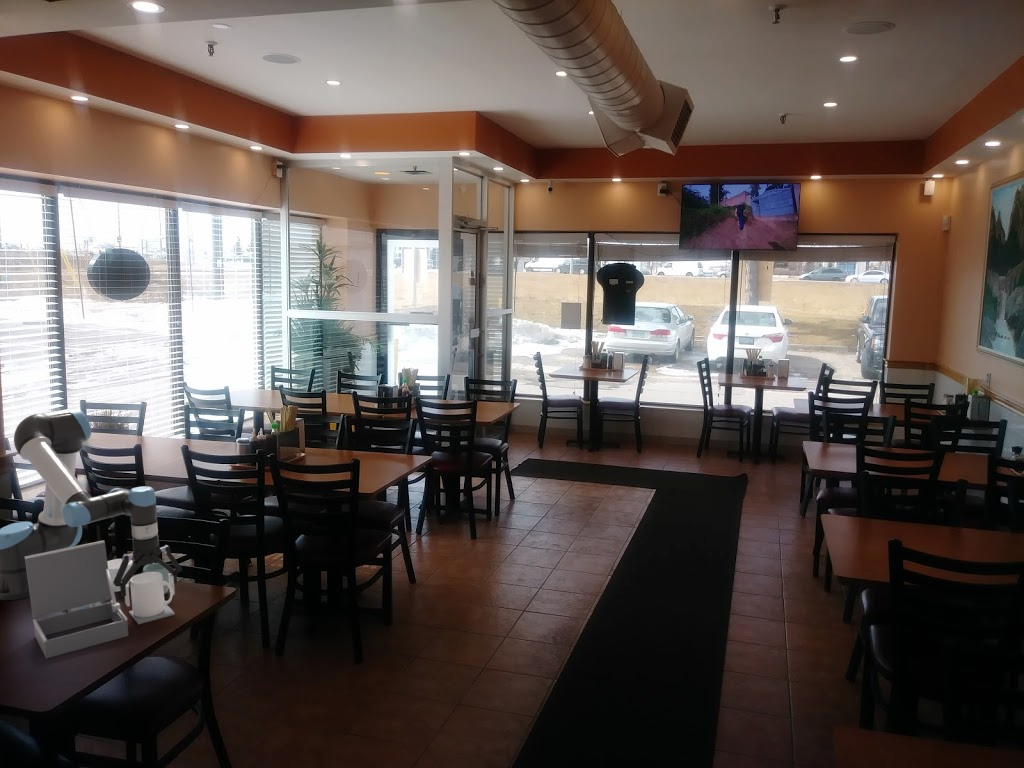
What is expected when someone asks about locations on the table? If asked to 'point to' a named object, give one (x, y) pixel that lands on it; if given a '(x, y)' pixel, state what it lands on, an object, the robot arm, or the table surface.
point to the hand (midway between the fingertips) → (150, 599)
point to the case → (80, 619)
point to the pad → (165, 613)
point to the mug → (148, 594)
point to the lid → (67, 578)
